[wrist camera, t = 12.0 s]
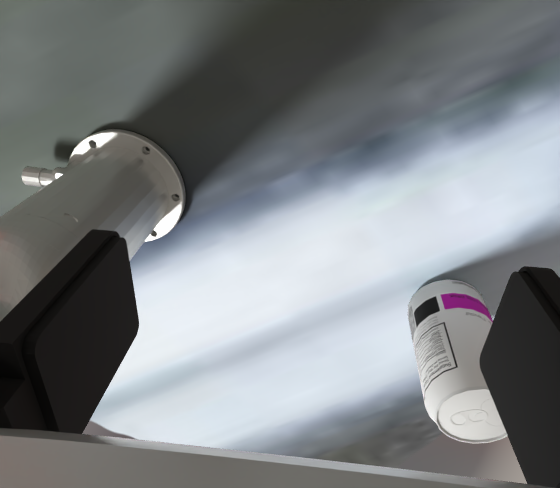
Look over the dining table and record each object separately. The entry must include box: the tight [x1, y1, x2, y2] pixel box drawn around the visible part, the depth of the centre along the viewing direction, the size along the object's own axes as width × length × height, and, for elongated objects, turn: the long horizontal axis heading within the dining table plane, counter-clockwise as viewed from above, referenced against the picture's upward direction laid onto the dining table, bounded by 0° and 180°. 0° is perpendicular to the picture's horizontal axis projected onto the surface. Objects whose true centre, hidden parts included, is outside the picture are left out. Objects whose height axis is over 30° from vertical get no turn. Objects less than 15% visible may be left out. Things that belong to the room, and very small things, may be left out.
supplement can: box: [408, 279, 508, 443], centre depth 43 cm, size 8×8×15 cm
